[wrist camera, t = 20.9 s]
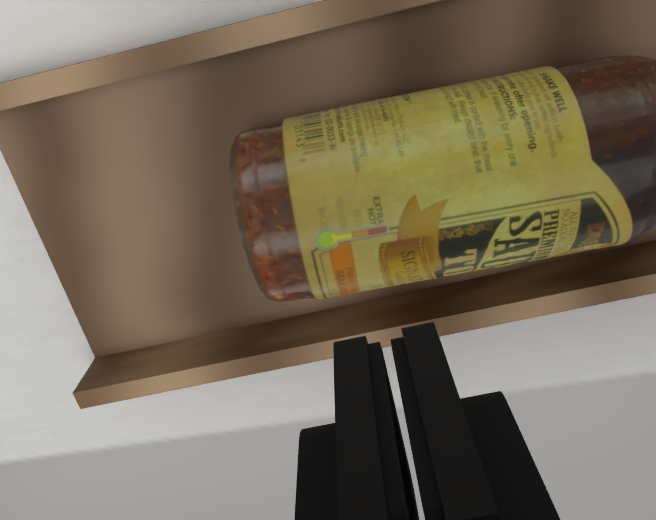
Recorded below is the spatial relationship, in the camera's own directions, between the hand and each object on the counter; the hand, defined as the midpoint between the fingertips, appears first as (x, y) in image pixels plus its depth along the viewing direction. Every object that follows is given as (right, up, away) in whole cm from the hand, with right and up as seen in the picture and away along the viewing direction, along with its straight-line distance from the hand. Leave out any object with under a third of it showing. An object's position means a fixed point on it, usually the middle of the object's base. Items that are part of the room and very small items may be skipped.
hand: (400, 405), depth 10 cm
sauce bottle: (-4, +4, +11) cm, 12 cm away
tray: (+2, +6, +14) cm, 15 cm away
